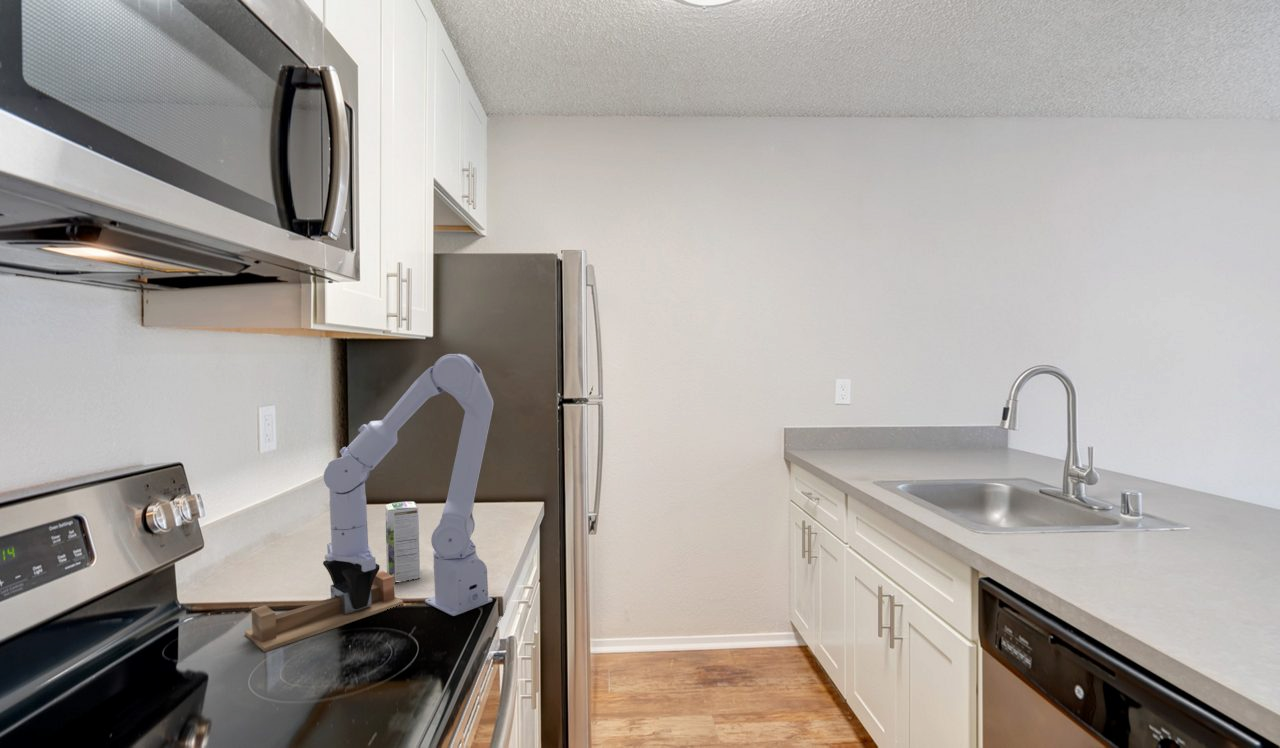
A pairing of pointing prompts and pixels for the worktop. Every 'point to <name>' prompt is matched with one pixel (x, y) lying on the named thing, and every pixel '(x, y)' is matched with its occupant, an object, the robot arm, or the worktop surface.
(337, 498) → the robot arm
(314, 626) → the rail
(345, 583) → the slider
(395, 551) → the syrup box
